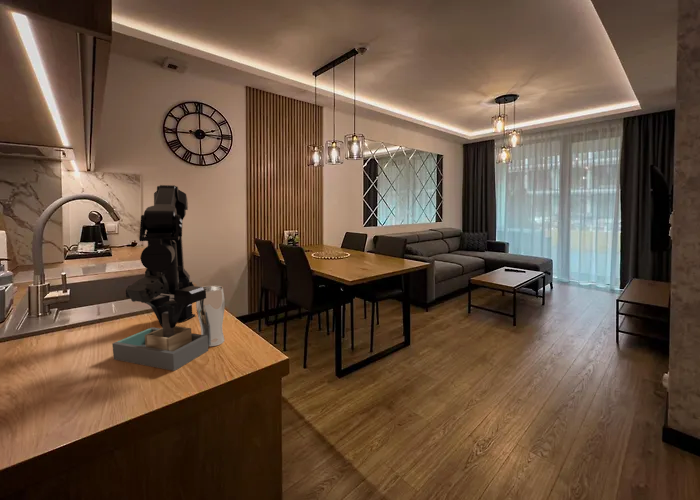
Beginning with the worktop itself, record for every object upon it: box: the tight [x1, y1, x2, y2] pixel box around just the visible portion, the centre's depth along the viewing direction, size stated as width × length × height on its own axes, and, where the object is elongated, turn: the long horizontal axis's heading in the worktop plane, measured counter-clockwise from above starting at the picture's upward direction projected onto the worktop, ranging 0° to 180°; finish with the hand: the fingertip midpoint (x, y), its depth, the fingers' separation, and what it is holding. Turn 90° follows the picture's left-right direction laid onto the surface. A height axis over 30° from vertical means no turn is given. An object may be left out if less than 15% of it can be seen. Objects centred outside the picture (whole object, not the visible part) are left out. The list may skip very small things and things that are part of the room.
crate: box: [145, 312, 192, 351], centre depth 81 cm, size 7×7×10 cm
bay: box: [112, 326, 209, 372], centre depth 82 cm, size 18×11×4 cm, turn 73°
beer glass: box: [195, 284, 226, 348], centre depth 89 cm, size 7×7×15 cm
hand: (168, 326), depth 81 cm, fingers closed on crate, 2 cm apart
